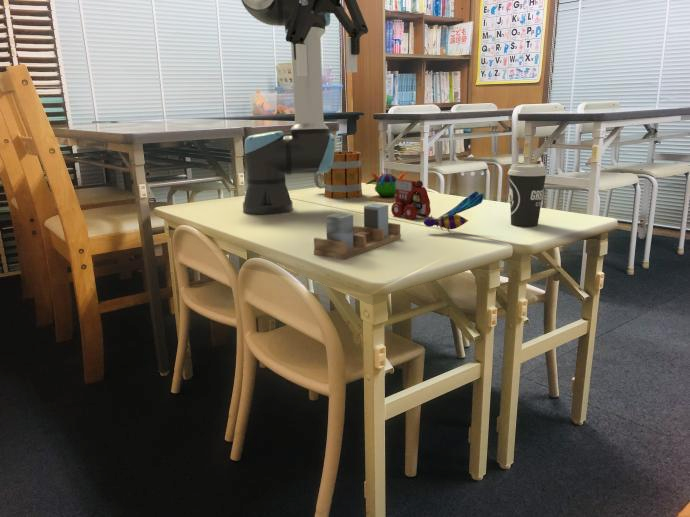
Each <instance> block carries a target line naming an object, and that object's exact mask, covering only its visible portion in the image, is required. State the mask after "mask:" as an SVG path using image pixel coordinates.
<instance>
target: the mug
mask: <svg viewBox="0 0 690 517" xmlns="http://www.w3.org/2000/svg"><path fill="white" fill-rule="evenodd" d="M362 155H363V152H362V151H353V150H352V151H349V150H348V151H334V159H333V164H332V167H331V169H330V171H329V172H327V173H323V180H324V181H323V182H324V183H323V184H320V181H319V174H313V181H314V185H315V187H317V189H324V197H325V198H329V199H344V198H347V199H354V197H355V198H360V197H361V196H362V195H363V189H362V180H363V173H362V172H363V171H362Z"/></svg>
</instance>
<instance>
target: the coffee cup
mask: <svg viewBox="0 0 690 517" xmlns="http://www.w3.org/2000/svg"><path fill="white" fill-rule="evenodd" d="M548 174H549V172H548V169H547V168H546V165H545V164H541V163H540V164H538V163H515V164H511V165H510V168H509V169H508V171H507V175H509V176H508V177H509V179H508V180H509V198H510V199H509V201H510V202H509V203H510V204H509V205H510V210H509V211H510V225H511V226H513V227H517V228H534V227H538V224H539V220H540V214H541V206H542V200H543V195H544V189H545V183H546V176H548Z"/></svg>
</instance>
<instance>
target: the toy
mask: <svg viewBox="0 0 690 517" xmlns="http://www.w3.org/2000/svg"><path fill="white" fill-rule="evenodd" d="M484 198H485V194H484V193H480V194H479V191H477V190H476V191H474V192H472V193H471V194H470V195H468V196H467V197H465V198H464V199H463V200H461V201H460V202H459V203H458V204H457V205H455V207H453V208H451V209H450V210H449V211H447V212H445V213H444V214H442V215H440V216H439V217H438V218H433V215H430V217H428V218H426V219H425V220H424V221H423V224H424V226H426V227H430V228H431V227H433V226H436V228H438V229H439V227H440V229H441V231H444V230H443V229H446V230H447V231H448V232H449V233H450V230H454V229H458V228H459V227H461V226H463V225H465V224H466V223H468V222H469V220H468V219H466V218H464V216H461V215H459V214H460V213H462V212H465V211H467V210H470V209H472V208H475V207H476V206H478V205H480V204H482V202H483V200H484Z"/></svg>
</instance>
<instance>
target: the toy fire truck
mask: <svg viewBox="0 0 690 517" xmlns="http://www.w3.org/2000/svg"><path fill="white" fill-rule="evenodd" d="M395 188H396V202H393V203H392V204H391V209H390V211H391V214H392V215H393V217H397V218H400V217H403V215H404V218H406V220H415V219H417V216H420V217H422V218H423V217H424V218H426V217H428V216H431V215H430V214H431V212H432V210H431V202H430V198H429V195H428V192H427V189H426V187H424V183H423V181H422V180H420V179H419V180H411V179H406V178H405V179H404V178H402V179H397V180H396V181H395Z"/></svg>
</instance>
